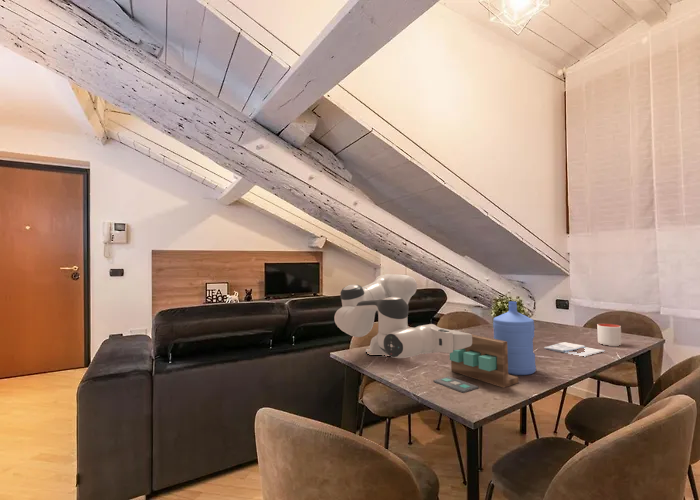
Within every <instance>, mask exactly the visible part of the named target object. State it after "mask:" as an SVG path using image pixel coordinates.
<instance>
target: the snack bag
mask: <svg viewBox="0 0 700 500" xmlns="http://www.w3.org/2000/svg"><path fill="white" fill-rule="evenodd" d="M543 348H544V350H548V351H553V352H558V353H562V354H565V353H568V354H567V355H571V354H573V355H572V356H575V355H579V356H578V357H580V356H584V357H583V358H587V357H586V356H588V355H592V354H596V353H599V352H604V351H606V350H605V349H600V348H599V349H597V348H592V347H587V346H586V345H584V344H577V343H570V342H566V341H564V342H559V343H555V344H552V345H551V344H550V345H548V346H547V345H546V346H544V347H543ZM580 348H584V349H585V350H584V351H585V352H581V353H577V352H569V351H573V350H574V351H578V350H577V349H580ZM606 352H607V351H606ZM604 353H605V352H604ZM599 354H600V353H599ZM596 355H597V354H596ZM592 356H593V355H592ZM588 357H589V356H588Z"/></svg>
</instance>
